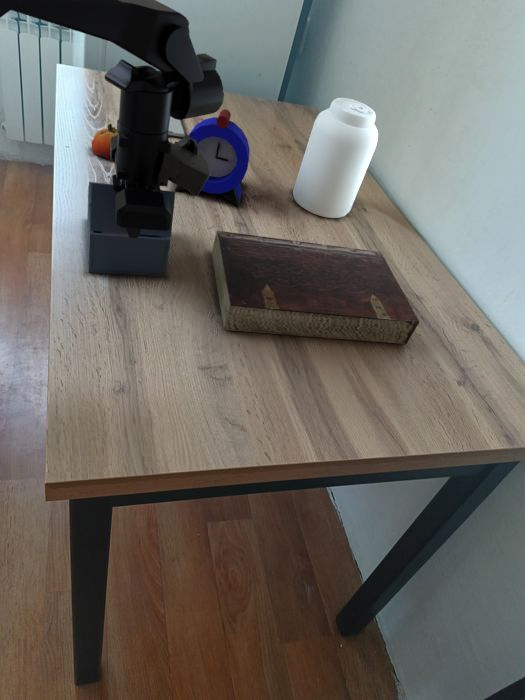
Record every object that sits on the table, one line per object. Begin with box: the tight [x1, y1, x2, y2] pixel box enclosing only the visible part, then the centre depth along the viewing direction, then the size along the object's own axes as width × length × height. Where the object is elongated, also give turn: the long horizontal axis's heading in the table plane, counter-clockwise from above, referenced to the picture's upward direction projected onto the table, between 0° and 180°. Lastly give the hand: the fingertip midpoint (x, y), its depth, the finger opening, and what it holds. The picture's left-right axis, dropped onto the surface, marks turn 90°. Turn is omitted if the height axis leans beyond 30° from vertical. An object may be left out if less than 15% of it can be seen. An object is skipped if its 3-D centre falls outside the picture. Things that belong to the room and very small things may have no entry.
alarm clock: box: [174, 108, 251, 207], centre depth 100 cm, size 12×12×15 cm
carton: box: [86, 181, 171, 277], centre depth 81 cm, size 13×11×7 cm
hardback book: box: [211, 230, 420, 345], centre depth 84 cm, size 29×19×5 cm, turn 99°
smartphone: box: [168, 116, 186, 138], centre depth 120 cm, size 7×1×15 cm
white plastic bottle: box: [292, 97, 379, 219], centre depth 104 cm, size 12×12×20 cm
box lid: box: [90, 182, 176, 238], centre depth 73 cm, size 6×11×1 cm
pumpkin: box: [91, 123, 117, 161], centre depth 104 cm, size 8×7×7 cm
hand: (133, 236), depth 73 cm, fingers closed
